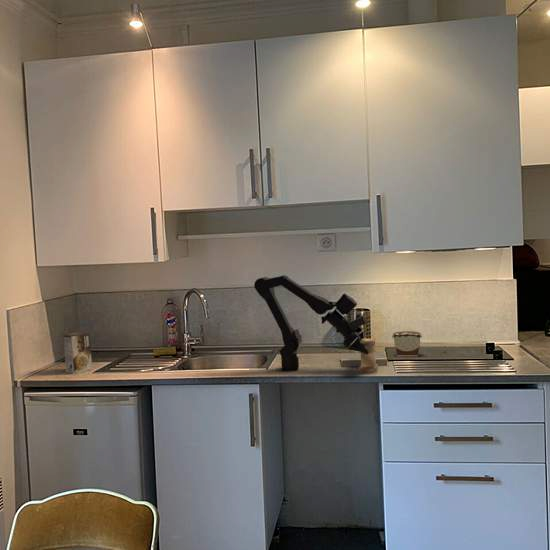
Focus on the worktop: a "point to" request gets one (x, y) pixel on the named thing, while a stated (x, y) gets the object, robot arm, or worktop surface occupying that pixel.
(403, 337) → the food container
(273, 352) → the worktop surface
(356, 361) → the plate
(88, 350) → the coffee box
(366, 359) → the tan piece
